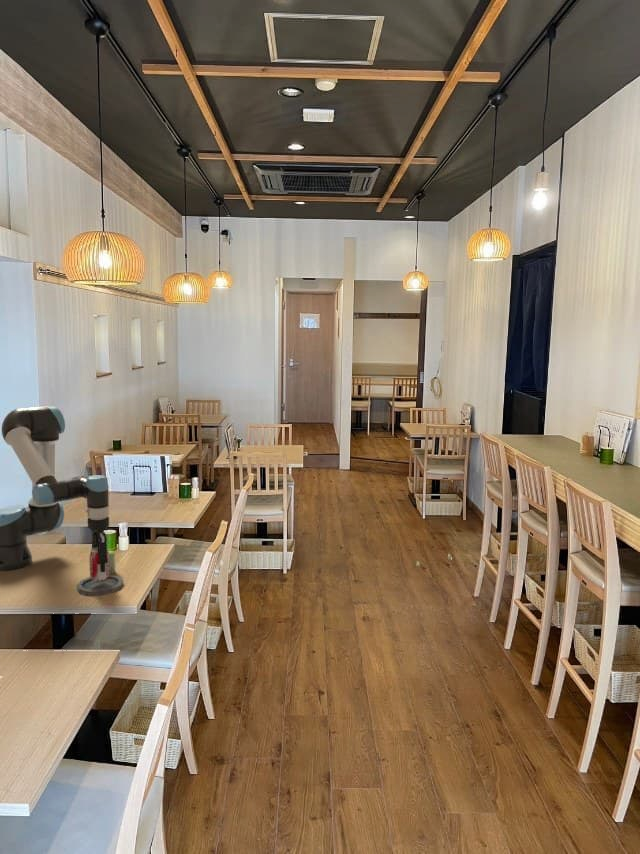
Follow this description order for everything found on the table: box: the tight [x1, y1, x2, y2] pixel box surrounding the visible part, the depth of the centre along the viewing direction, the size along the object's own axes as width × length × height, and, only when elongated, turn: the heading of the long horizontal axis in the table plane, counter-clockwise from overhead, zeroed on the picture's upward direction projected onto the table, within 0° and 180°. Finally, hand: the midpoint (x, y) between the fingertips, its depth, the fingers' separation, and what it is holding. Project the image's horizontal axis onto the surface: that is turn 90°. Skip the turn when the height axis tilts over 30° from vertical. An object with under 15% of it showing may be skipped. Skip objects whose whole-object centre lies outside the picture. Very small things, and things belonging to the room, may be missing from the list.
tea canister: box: [108, 550, 116, 575], centre depth 244 cm, size 5×5×8 cm
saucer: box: [76, 574, 124, 596], centre depth 230 cm, size 16×16×1 cm
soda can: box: [89, 547, 111, 582], centre depth 229 cm, size 7×7×12 cm
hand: (100, 575), depth 230 cm, fingers closed on soda can, 7 cm apart
